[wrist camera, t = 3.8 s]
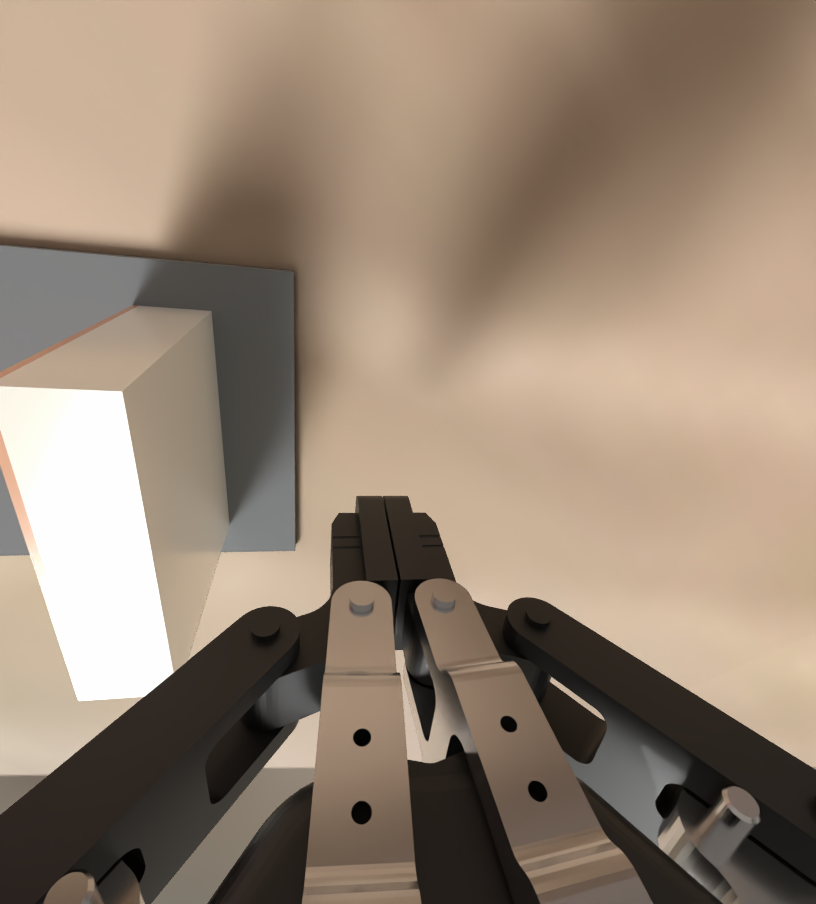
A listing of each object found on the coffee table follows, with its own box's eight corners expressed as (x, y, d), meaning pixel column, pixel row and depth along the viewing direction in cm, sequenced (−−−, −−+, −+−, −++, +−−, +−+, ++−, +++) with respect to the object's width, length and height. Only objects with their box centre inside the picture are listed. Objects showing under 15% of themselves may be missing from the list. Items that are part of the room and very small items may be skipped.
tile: (211, 310, 16) (122, 391, 9) (229, 524, 20) (177, 694, 13) (132, 305, 16) (-27, 385, 9) (167, 524, 20) (78, 700, 13)
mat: (294, 270, 16) (293, 272, 16) (295, 545, 22) (295, 550, 21) (-197, 225, 14) (-211, 226, 13) (-56, 550, 19) (-63, 556, 19)
